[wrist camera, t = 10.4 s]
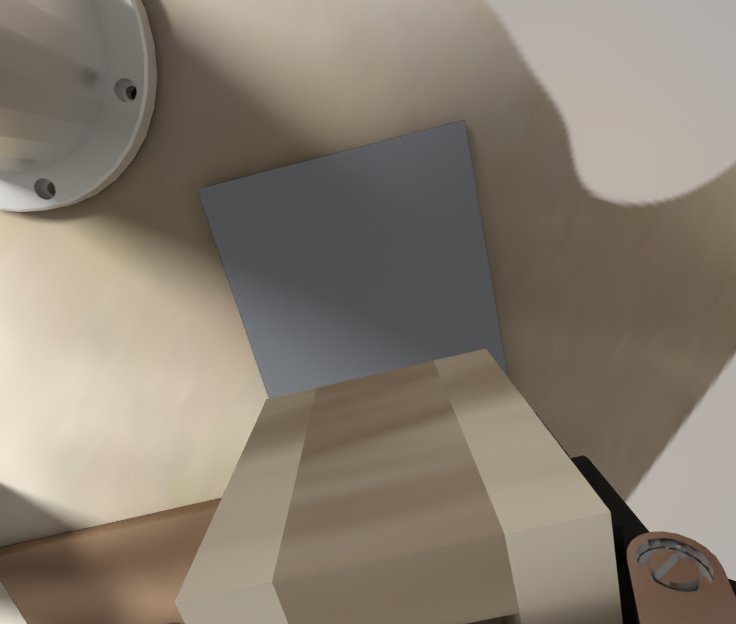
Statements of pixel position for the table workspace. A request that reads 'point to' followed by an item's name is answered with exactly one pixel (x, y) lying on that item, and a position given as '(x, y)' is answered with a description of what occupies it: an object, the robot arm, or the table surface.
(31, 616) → the peg stand
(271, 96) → the table surface
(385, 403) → the ring block
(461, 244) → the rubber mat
